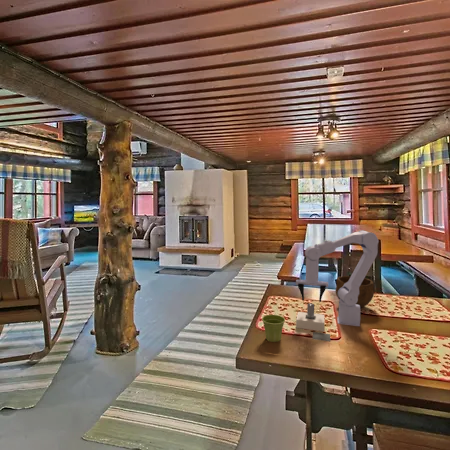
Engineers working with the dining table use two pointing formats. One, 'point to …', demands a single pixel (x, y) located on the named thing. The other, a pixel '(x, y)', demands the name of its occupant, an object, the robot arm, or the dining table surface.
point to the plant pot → (273, 327)
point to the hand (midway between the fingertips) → (311, 300)
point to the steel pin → (310, 311)
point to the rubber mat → (321, 336)
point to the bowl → (364, 290)
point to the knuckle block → (310, 322)
